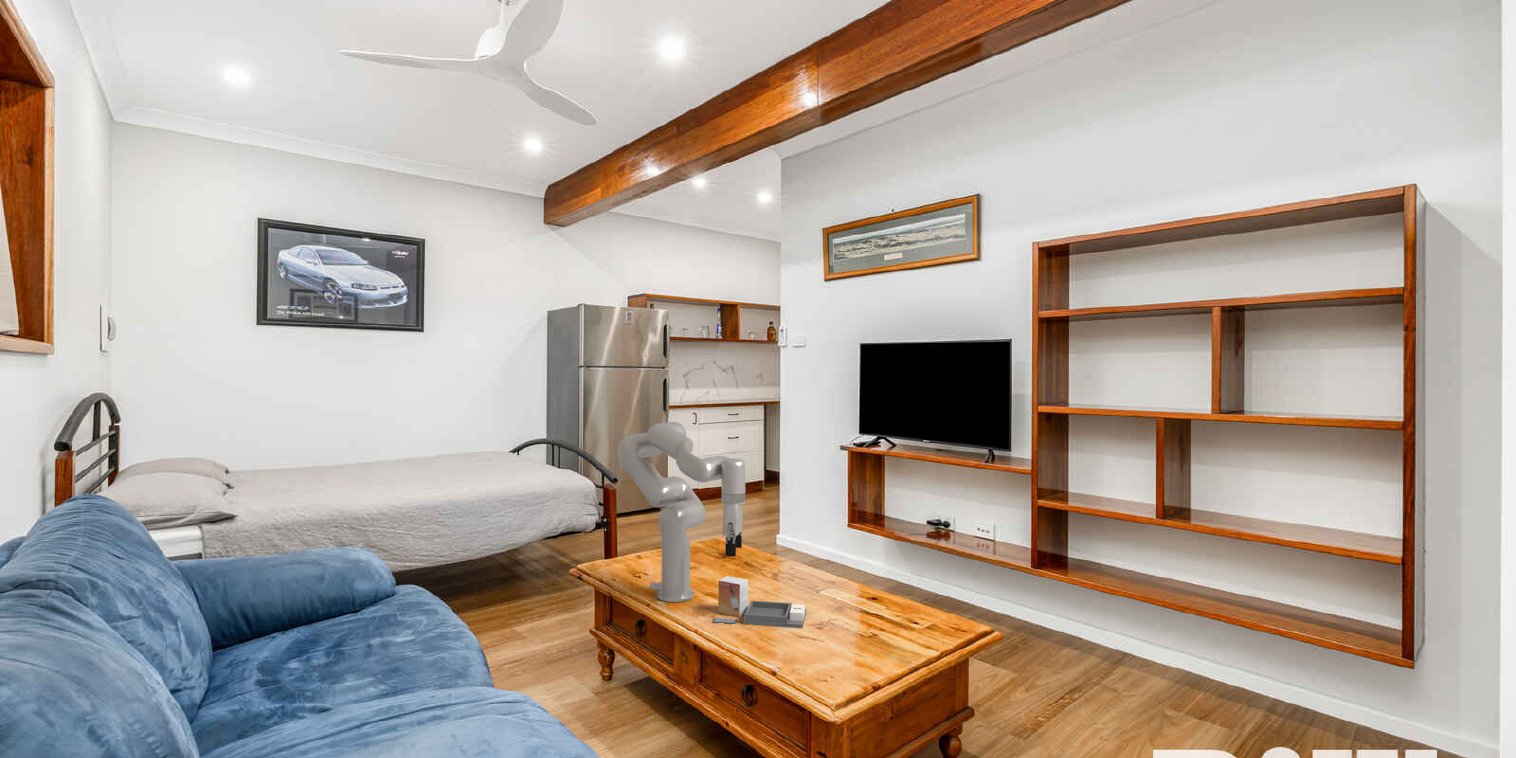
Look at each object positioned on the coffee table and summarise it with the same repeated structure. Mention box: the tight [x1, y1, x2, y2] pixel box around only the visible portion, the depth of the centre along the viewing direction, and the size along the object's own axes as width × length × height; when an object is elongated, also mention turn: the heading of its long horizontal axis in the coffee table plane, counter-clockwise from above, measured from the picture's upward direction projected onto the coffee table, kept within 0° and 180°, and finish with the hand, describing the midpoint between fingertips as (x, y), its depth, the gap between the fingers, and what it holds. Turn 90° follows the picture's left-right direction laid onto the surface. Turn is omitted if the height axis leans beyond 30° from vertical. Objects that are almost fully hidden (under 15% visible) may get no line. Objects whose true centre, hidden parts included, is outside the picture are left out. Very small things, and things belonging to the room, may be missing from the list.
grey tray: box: [742, 600, 807, 629], centre depth 210 cm, size 18×13×4 cm
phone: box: [711, 617, 738, 625], centre depth 207 cm, size 7×3×1 cm, turn 80°
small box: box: [717, 575, 749, 618], centre depth 215 cm, size 8×6×10 cm
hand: (733, 551), depth 214 cm, fingers open, 9 cm apart
